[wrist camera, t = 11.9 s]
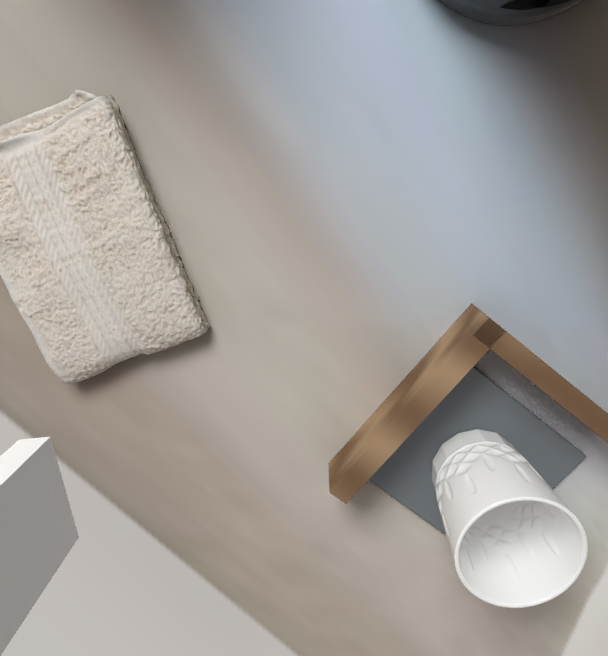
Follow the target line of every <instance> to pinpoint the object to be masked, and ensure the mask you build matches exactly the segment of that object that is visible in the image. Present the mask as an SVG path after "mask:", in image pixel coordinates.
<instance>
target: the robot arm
mask: <svg viewBox="0 0 608 656" xmlns="http://www.w3.org/2000/svg"><path fill="white" fill-rule="evenodd" d="M440 1H441V2H442V3H444V4H445V5H446V6H448V7H449V8H451V9H452V10H454V11H456V12H457V13H459V14H461V15H464V16H466V17H468V18H471V19H473V20H476V21H480V22H484V23H489V24H495V25H521V24H528V23H533V22H537V21H541V20H544V19H547V18H550V17H552V16H555V15H557V14H559V13H561V12H563V11H565V10H567V9H569V8H571V7H572V6H574V5H576V4H577V3H579V2H580V1H581V0H440ZM77 539H78V533H77V529H76V526H75V522H74V519H73V516H72V512H71V508H70V504H69V501H68V497H67V494H66V490H65V487H64V483H63V480H62V476H61V473H60V469H59V465H58V462H57V458H56V455H55V451H54V448H53V444H52V440H51V437H42V438H33V439H23V440H18V441H17V442H16V443H15V444H14V445H13V446H11V447H10V448H9V449H8V450H7V451H6V452H5V453H4V454H3V455H1V456H0V655H1V654H2V653H3V651H4V650H5V648H6V647H7V645H8V643H9V642H10V640H11V639H12V637H13V636H14V634H15V633H16V631H17V630H18V628H19V627H20V625H21V624H22V622H23V621H24V619H25V618H26V616H27V615H28V613H29V611H30V610H31V609H32V607H33V606H34V604H35V603H36V601H37V599H38V598H39V597H40V595H41V593H42V592H43V590H44V589H45V587H46V586H47V584H48V583H49V581H50V580H51V578H52V576H53V575H54V574H55V572H56V571H57V569H58V568H59V566H60V565H61V563H62V562H63V560H64V558H65V557H66V556H67V554H68V553H69V551H70V549H71V548H72V546H73V545H74V543H75V542H76V540H77Z"/></svg>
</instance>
